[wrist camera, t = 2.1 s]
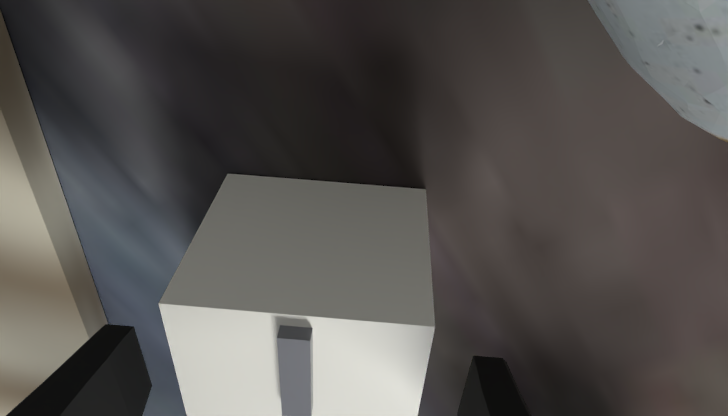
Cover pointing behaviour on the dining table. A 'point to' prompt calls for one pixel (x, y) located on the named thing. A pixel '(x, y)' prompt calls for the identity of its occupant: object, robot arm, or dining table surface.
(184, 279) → the white cabinet with handle
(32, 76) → the dining table surface
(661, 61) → the ceramic mug
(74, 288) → the board
